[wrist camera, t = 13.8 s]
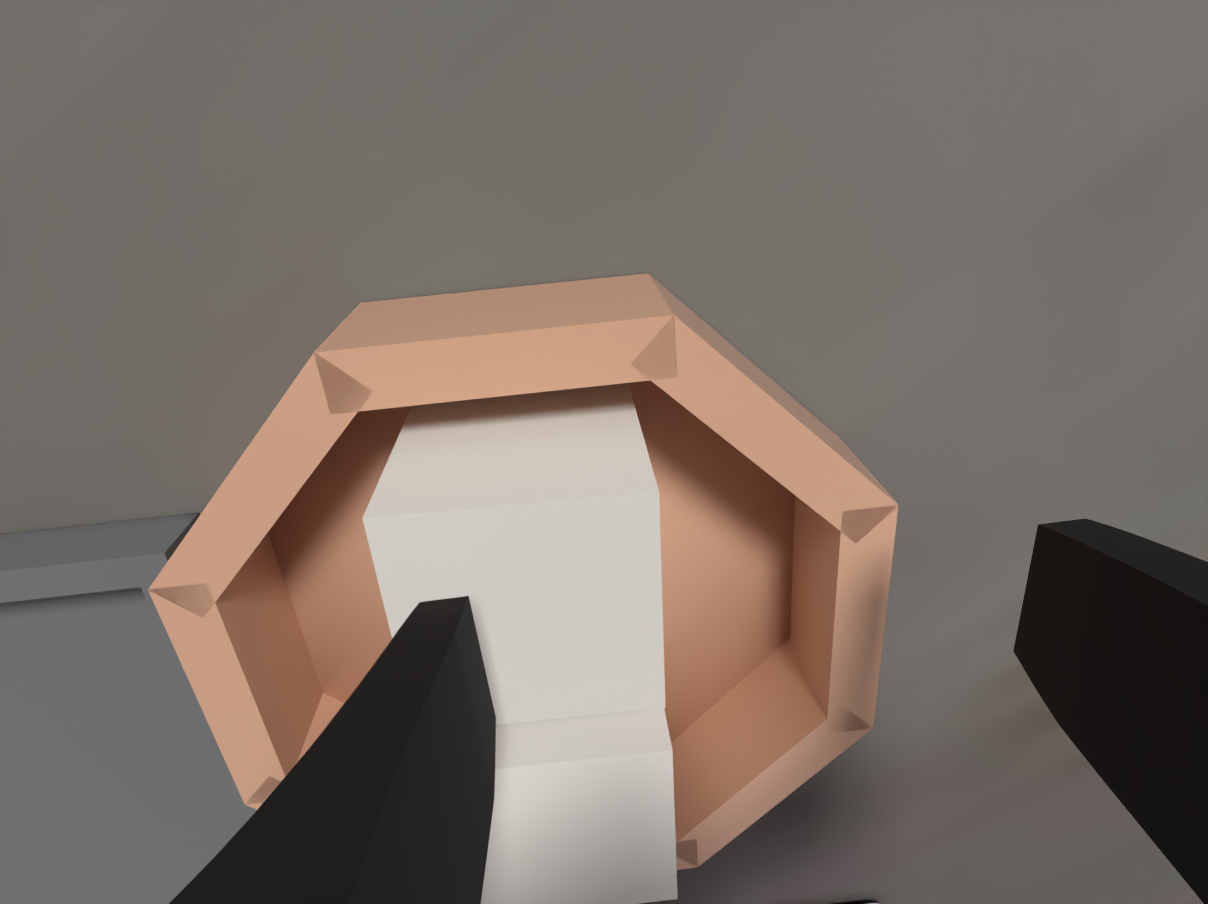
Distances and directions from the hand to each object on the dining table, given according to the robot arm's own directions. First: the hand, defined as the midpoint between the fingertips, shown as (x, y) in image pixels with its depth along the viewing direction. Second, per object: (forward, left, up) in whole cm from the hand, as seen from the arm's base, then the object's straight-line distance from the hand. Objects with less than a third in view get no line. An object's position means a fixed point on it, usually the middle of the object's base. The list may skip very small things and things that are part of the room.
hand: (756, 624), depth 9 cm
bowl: (-3, +3, -6) cm, 8 cm away
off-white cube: (-1, +3, -6) cm, 7 cm away
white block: (-6, +3, -6) cm, 9 cm away
